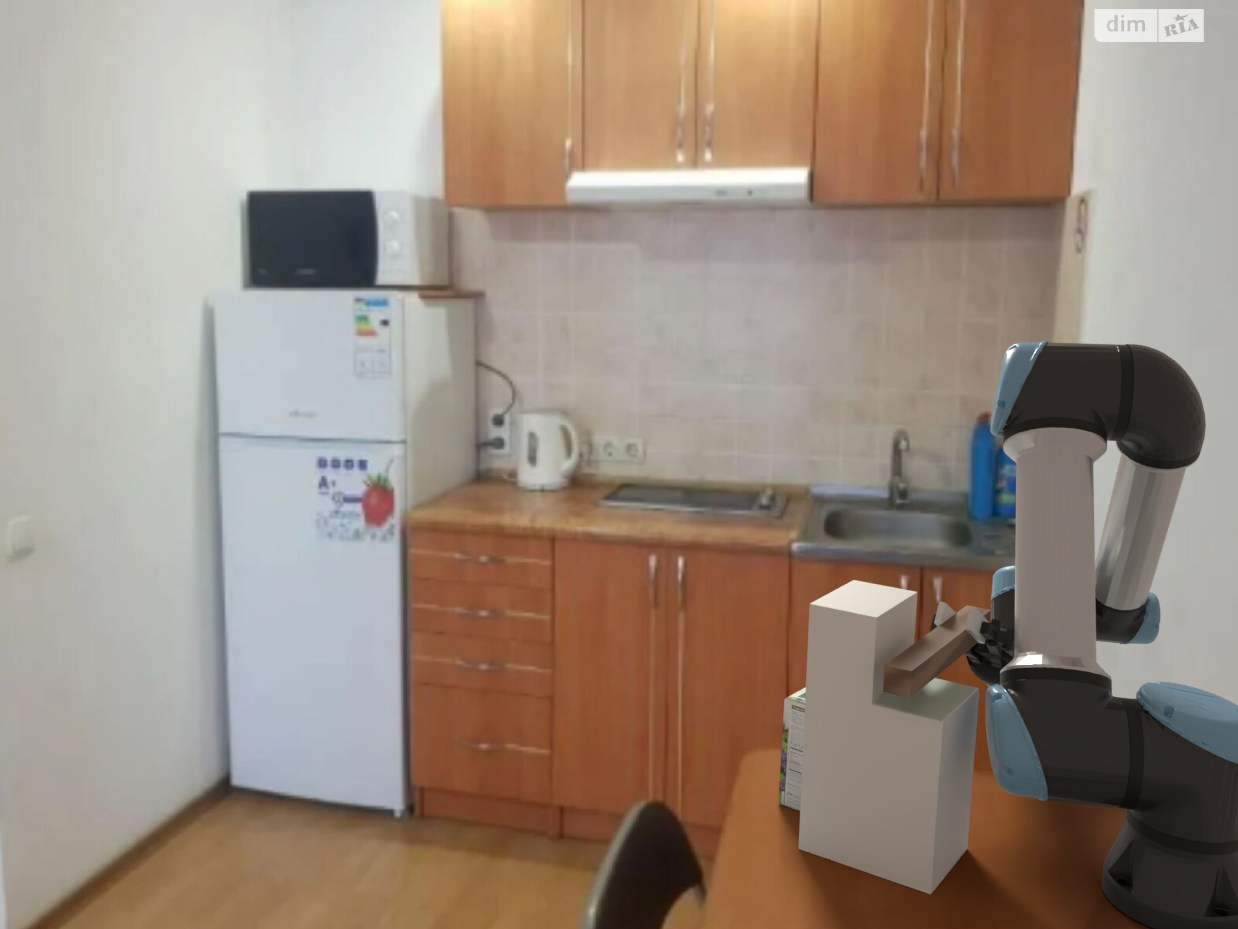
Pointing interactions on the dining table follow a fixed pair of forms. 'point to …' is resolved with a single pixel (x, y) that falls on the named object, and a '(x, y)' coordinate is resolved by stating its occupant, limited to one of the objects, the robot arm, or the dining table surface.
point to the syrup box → (792, 750)
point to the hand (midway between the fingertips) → (955, 616)
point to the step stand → (882, 745)
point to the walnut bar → (930, 655)
